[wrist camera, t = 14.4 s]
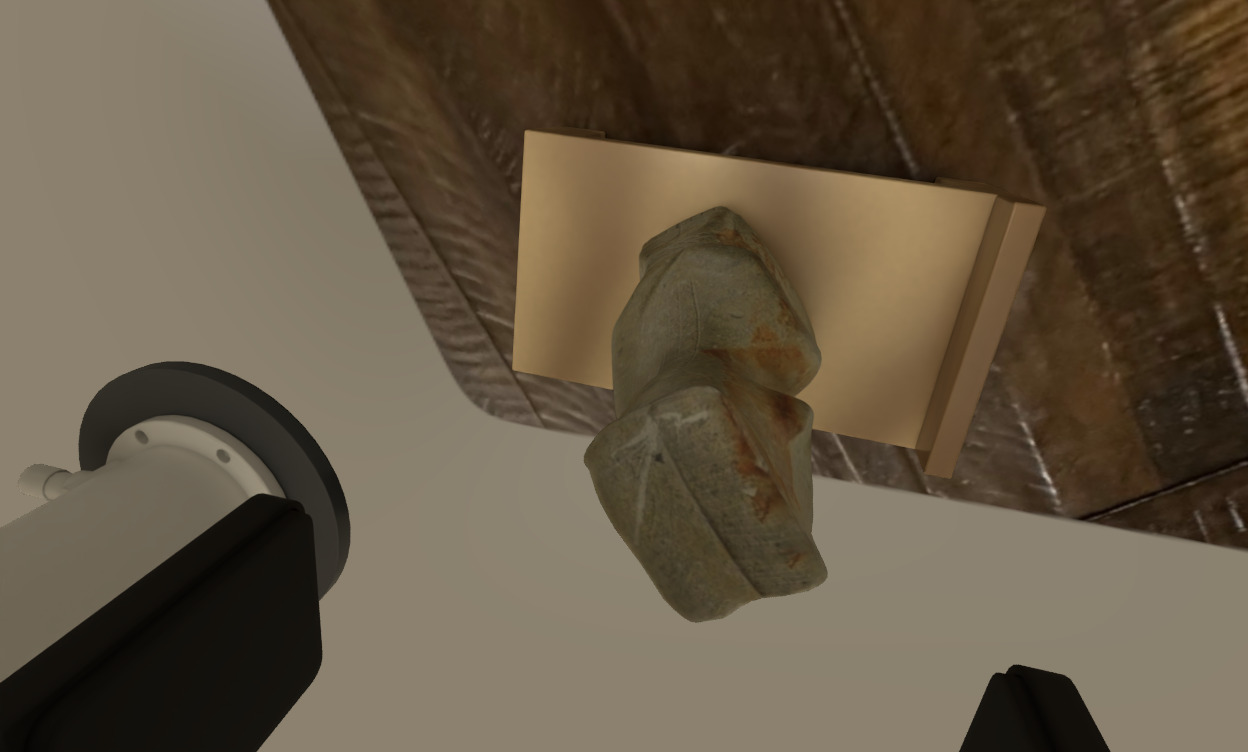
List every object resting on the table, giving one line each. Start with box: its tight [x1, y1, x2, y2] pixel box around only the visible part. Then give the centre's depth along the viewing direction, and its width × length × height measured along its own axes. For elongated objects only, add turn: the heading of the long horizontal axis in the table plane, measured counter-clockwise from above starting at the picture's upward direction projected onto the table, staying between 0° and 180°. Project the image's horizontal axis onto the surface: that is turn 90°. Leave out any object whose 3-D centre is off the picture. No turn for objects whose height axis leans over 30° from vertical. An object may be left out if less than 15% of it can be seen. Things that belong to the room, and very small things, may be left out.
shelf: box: [512, 126, 1046, 478], centre depth 28 cm, size 18×10×7 cm, turn 83°
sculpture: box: [584, 206, 827, 622], centre depth 19 cm, size 6×7×15 cm
